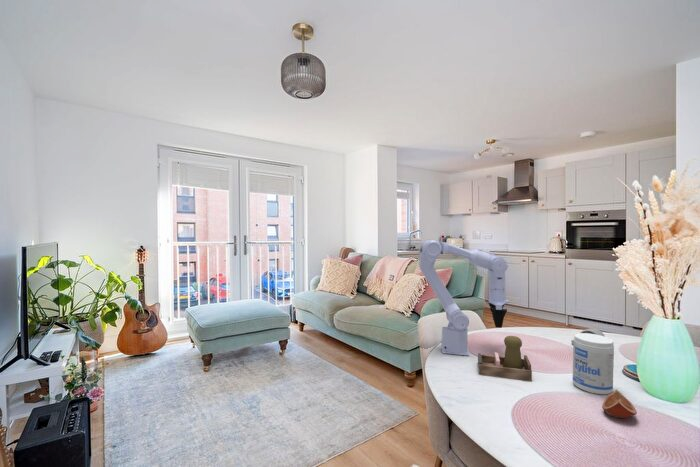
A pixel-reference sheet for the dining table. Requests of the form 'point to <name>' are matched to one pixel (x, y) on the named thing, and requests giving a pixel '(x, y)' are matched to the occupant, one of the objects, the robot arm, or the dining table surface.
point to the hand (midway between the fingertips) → (497, 324)
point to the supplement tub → (593, 363)
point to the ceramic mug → (591, 332)
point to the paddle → (497, 360)
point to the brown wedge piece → (618, 405)
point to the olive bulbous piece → (513, 352)
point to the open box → (503, 368)
